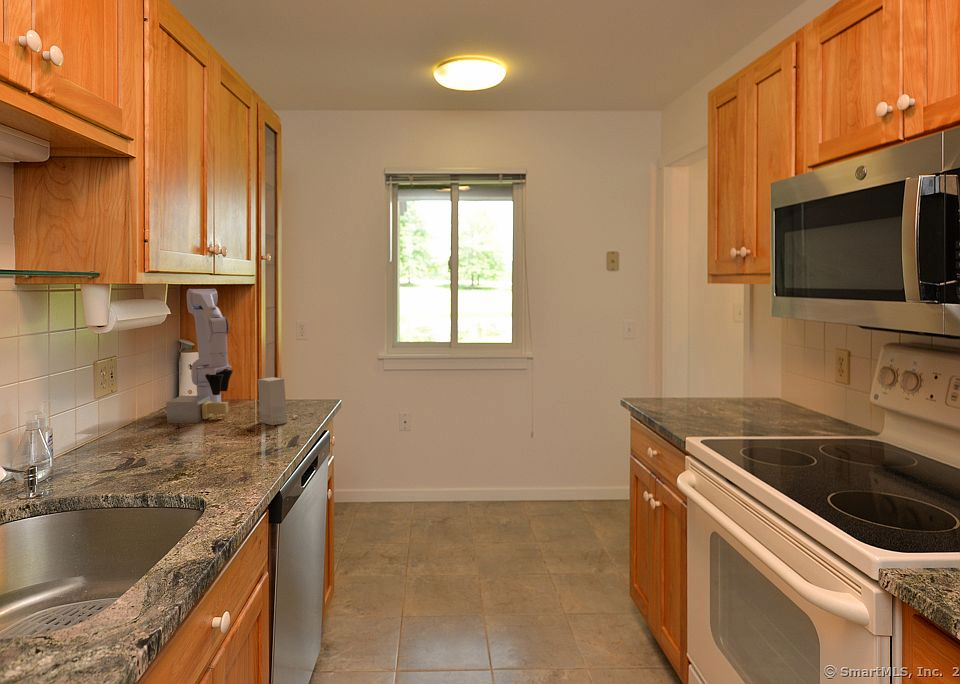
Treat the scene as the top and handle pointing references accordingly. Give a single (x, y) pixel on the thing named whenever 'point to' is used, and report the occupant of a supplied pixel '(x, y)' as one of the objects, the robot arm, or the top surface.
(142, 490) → the top surface
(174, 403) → the block
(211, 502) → the top surface
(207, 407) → the end cover
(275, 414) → the skincare box
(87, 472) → the top surface
